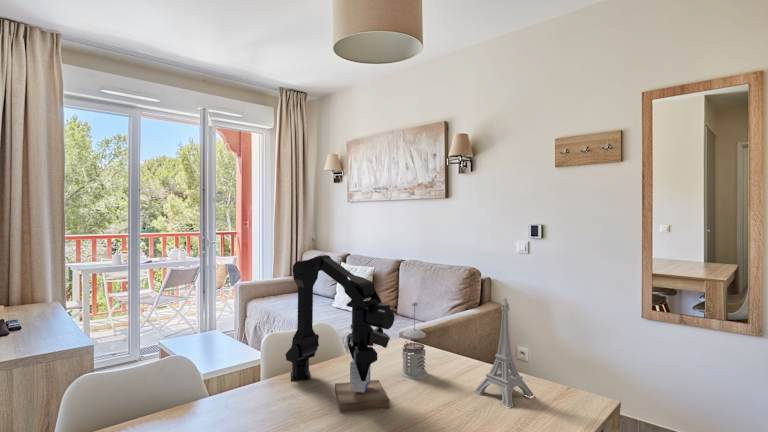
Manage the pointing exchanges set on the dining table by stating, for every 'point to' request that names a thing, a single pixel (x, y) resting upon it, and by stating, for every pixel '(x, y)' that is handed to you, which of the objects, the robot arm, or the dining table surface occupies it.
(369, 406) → the walnut block
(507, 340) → the eiffel tower
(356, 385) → the medicine box
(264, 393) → the dining table surface
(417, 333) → the french press
